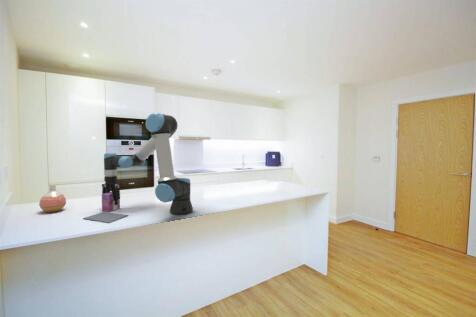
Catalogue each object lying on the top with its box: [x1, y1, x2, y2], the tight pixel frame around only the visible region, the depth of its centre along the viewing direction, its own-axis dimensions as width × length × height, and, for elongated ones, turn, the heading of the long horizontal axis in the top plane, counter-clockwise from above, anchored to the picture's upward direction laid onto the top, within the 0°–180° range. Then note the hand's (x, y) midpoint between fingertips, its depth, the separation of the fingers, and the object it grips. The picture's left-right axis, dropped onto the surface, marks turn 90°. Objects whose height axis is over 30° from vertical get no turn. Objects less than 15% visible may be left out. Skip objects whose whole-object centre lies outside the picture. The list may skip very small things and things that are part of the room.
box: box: [101, 191, 121, 213], centre depth 155 cm, size 10×6×12 cm, turn 168°
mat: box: [82, 211, 129, 224], centre depth 138 cm, size 20×14×1 cm
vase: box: [39, 184, 67, 213], centre depth 149 cm, size 14×14×18 cm
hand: (111, 209), depth 155 cm, fingers closed on box, 6 cm apart
